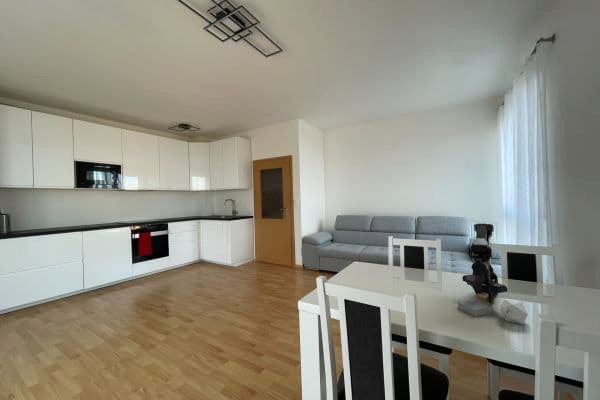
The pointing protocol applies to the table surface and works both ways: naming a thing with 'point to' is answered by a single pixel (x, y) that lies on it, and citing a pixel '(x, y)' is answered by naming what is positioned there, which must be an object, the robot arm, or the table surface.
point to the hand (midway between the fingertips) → (484, 300)
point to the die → (513, 311)
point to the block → (483, 298)
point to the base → (475, 307)
